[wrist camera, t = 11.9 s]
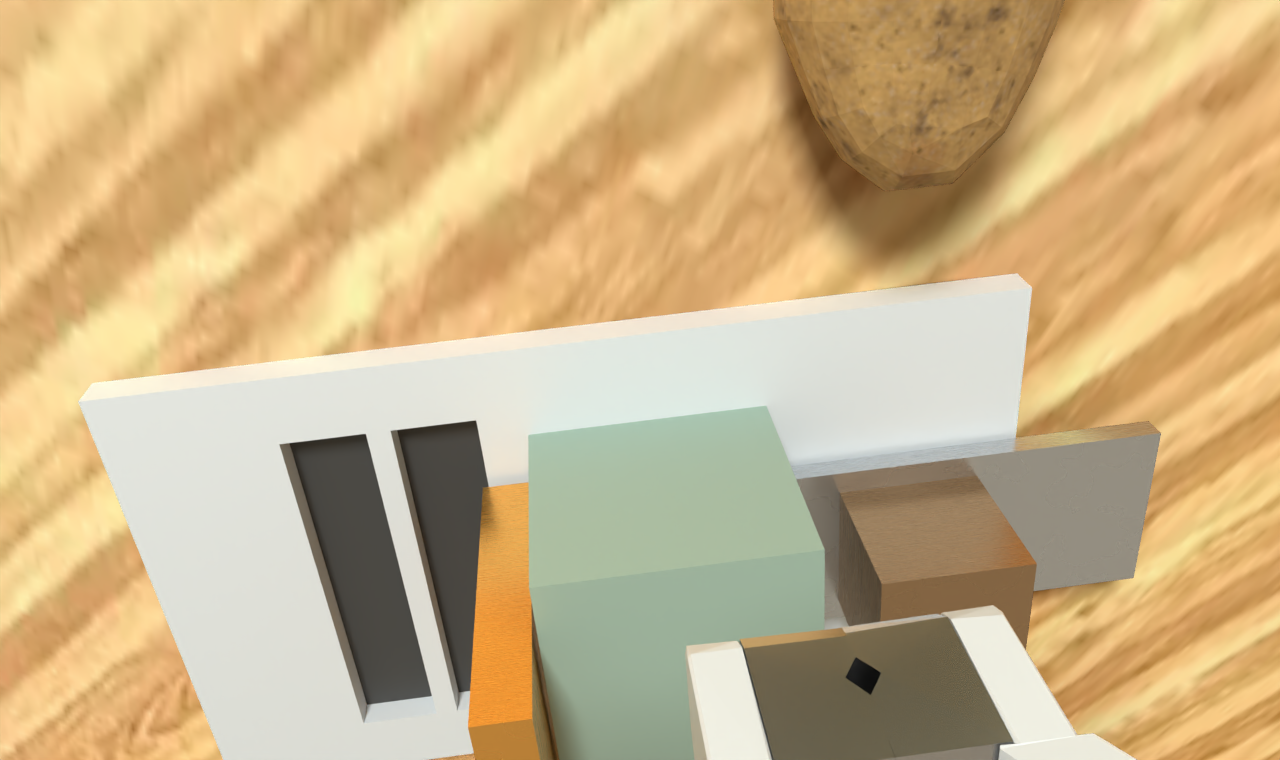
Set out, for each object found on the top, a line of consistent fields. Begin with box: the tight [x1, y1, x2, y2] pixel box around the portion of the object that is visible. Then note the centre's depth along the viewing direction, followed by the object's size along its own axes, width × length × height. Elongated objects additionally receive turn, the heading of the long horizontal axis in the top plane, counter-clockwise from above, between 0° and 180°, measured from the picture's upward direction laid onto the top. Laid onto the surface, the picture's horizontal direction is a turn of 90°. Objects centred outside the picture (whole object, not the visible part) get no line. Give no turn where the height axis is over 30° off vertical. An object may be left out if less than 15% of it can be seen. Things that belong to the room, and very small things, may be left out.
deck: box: [78, 273, 1032, 760], centre depth 47 cm, size 38×22×2 cm, turn 95°
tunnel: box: [528, 406, 825, 760], centre depth 42 cm, size 10×14×10 cm
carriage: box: [468, 421, 1161, 760], centre depth 41 cm, size 29×10×13 cm, turn 95°
